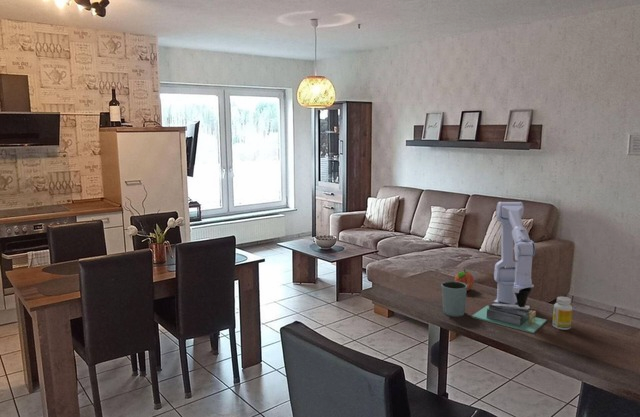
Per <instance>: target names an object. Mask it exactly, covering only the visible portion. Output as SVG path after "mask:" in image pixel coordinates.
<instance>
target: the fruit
mask: <svg viewBox="0 0 640 417" xmlns="http://www.w3.org/2000/svg"><path fill="white" fill-rule="evenodd" d="M472 273H473V272H472V271H469V270H468V271H467V270H466V269H463V271H460V272H458V273H457V274H456V275H455V277H454V281H457V282H462V283H465V284H466V285H467V291H470V290H471V289H472V288H473V286H474V283H475V280H474V277H473V275H472Z"/></svg>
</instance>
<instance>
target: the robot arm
mask: <svg viewBox="0 0 640 417" xmlns="http://www.w3.org/2000/svg"><path fill="white" fill-rule="evenodd" d="M495 210H496V213H495V215H496V216H495V217H496V221H498V222H500V230H501V231H500V234H501V235H500V237H501V238H500V241H501V244H500V245H501V247H500V249H501V253H500V254H501V255H500V256H501V258H500V260H498V261H497V262H496V263H495V264H494V271H493V279H494V281H495V283H497V285H496V287H497V291H496V299H494V300H493V302H498V301H501V302H505V303H510V304H514V305H518V306H521V307H524V306H525V305H527V301H528V297H529V295H530V294H531V291H532V288H534V287H535V285H534V284H533V283H532V281H533V279H532V270H533V269H532V265H533V257H534V256H535V254H536V244H535V242H534V241H533V240H532V239H530V235H529V233H528V230H527V228H526V227H524V226H523V221H522V217H523V214H524V211H525V207H524V204H523V202H521V201H497V204H496V208H495ZM514 260H515V261H514ZM493 302H492V303H493Z"/></svg>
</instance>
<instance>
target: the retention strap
mask: <svg viewBox="0 0 640 417" xmlns="http://www.w3.org/2000/svg"><path fill="white" fill-rule="evenodd" d="M491 305H493V307H497V308H512V309H526V310H527V309H529V308H531V307H530V305H527V304H525V306H524V307H521V306H518V304H514V305H510V304H495V303H494V304H493V303H492V304H491Z"/></svg>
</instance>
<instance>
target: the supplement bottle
mask: <svg viewBox="0 0 640 417" xmlns="http://www.w3.org/2000/svg"><path fill="white" fill-rule="evenodd" d="M571 302H572V299H571V298H570V297H568V296H562V295H559V296H557V297H556V302H555V303H554V304H553V311H552V312H553V314H552V322H551V324H552V326H553V327H554V328H555V329H558V330H563V331H566V330H568V331H569V330H570V329H571V328H572V318H573V306H572V305H571Z"/></svg>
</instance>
